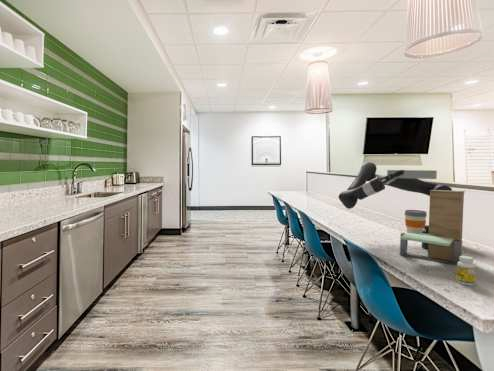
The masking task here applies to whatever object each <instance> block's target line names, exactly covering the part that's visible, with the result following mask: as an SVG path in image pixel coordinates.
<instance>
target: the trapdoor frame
mask: <svg viewBox="0 0 494 371" xmlns="http://www.w3.org/2000/svg"><path fill="white" fill-rule="evenodd" d="M406 233H407V232H401V233H400V236H399V237H400V239H399V245H400V246H399V255H400V256H405V257H410V258H416V259H420V260H426V261H432V262H436V263H437V262H438V263H442V264H449V265H454V266H457V263H458V262H459V261H460V259H459V257H460V256H463V240H462V241H460V240H455V244H454V261H450V260H444V259H439V258H433V257H428V255H422V254H421V255H419V254H415V253H410V252H408V245H409V243H408V241H409V240H404V239H401V236H403V235H404V234H406Z"/></svg>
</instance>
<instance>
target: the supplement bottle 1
mask: <svg viewBox="0 0 494 371" xmlns="http://www.w3.org/2000/svg"><path fill="white" fill-rule="evenodd" d="M422 233H425V234H429V224H428V225H427V224H425V226H424V231H422ZM421 248H422V249H425V250H428V243H424V242H421Z"/></svg>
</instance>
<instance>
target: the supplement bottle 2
mask: <svg viewBox="0 0 494 371" xmlns="http://www.w3.org/2000/svg"><path fill="white" fill-rule="evenodd" d="M459 259H460V261H459V262H458V263H457V265H456V282H457V283H459V284H461V285H465V286H474V285H475V284H476V264H474V257H472V256H467V255H462V256H460V257H459Z"/></svg>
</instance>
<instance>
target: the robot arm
mask: <svg viewBox="0 0 494 371" xmlns="http://www.w3.org/2000/svg"><path fill="white" fill-rule="evenodd" d="M399 170H400V171H398V172H396V173H393V174H390V175H382V174H376V173H377V165H376V164H375V163H373V162H372V161H371V162H370V161H367V162H364V163H363V164H362V165H361V167H360V170H359V172H358V174H357V175H356V177H355V178H354V179H353V181H352V182H351V184H350V185H349V186H348V188H347V190H343V191H341V192H340V193H339V195H338V199H339V201H340V202H341V203H342V205H343V206H344V207H345V208H346V209H347V210H351V209H354V207H355V206H356V205H357V203H358V200H364V199H366V198H367V197H370V196H373V195H376V194H378V193H380V192H382V191H384V190H385V189H386V186H388V187H392V188H396V189H399V190H402V191H406V192H413V193H416V194H417V193H419V194H423V195H425V196H429V197H430V192H429V191H430V190H449V191H453V189H452V188H451V186H449V185H445V184H437V183H433V182H427V181H424V180H423V179H414V178H396V176H397V177H398V176H400V175H402V174H404V172H403V170H404V169H399ZM388 176H389V177H388Z"/></svg>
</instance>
